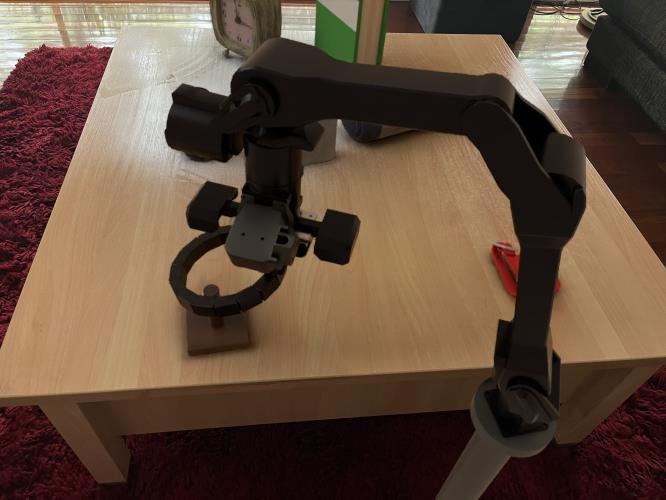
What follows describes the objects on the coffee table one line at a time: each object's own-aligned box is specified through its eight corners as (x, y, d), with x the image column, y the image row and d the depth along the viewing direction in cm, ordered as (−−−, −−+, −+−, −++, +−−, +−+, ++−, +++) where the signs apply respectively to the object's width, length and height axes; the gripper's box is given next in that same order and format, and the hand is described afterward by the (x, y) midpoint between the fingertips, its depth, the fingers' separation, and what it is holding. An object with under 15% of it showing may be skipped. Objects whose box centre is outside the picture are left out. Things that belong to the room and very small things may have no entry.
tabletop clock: (215, 57, 126) (203, -59, 108) (241, 44, 131) (234, -68, 113) (259, 78, 121) (255, -41, 103) (285, 64, 126) (285, -51, 108)
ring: (283, 225, 73) (280, 214, 71) (290, 304, 62) (287, 293, 61) (179, 245, 73) (174, 235, 71) (169, 327, 62) (163, 317, 61)
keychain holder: (565, 266, 83) (565, 300, 75) (548, 285, 86) (546, 320, 78) (498, 228, 85) (491, 257, 76) (483, 248, 87) (475, 278, 79)
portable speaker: (357, 155, 102) (362, 110, 95) (332, 128, 108) (336, 84, 101) (458, 127, 112) (470, 84, 104) (431, 104, 118) (440, 61, 110)
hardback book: (377, 92, 120) (393, -20, 102) (349, 98, 117) (360, -15, 100) (340, 57, 130) (348, -49, 113) (313, 62, 127) (318, -46, 110)
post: (249, 347, 71) (245, 310, 65) (188, 356, 70) (179, 319, 64) (243, 300, 76) (239, 263, 70) (186, 308, 75) (178, 270, 69)
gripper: (149, 199, 49) (174, 301, 60) (343, 245, 47) (331, 342, 58) (200, 134, 56) (213, 236, 68) (369, 171, 54) (353, 270, 66)
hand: (274, 270), depth 65 cm, fingers closed on ring, 2 cm apart
